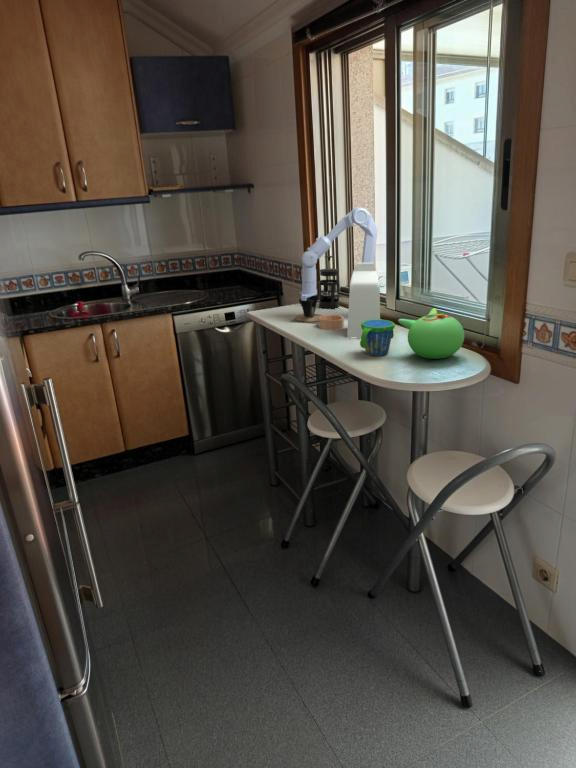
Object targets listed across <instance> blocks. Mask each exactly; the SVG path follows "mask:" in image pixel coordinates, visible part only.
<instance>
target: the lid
mask: <svg viewBox="0 0 576 768" xmlns="http://www.w3.org/2000/svg"><path fill="white" fill-rule="evenodd" d="M320 316H324V314H320V313H314V307H311V313H310V317H305V316H304V313H302V314H298V315H295V316H294V319H295V320H296V321H298V322H303V323H302V324H309V323H315V322H319V317H320Z"/></svg>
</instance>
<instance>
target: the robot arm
mask: <svg viewBox="0 0 576 768" xmlns="http://www.w3.org/2000/svg"><path fill="white" fill-rule="evenodd" d="M354 224H355V225H356V226H359V228H360V229H361V230H362V231H363V232H364V240H363V247H362V248H363V249H362V256H361V257H362V258H361V263H374V264H375V256H376V249H377V248H376V247H377V239H378V232H379V230H378V229H379V228H378V227H377V225H376V223H375V220H374V219H373V216H372V213H370V212H369V211H368V210H367V209H365V208H364V207H361V206H356V207H354V208H352V210H351V211H350V212H348V213H347V214H345V216H344V217H342V218H341V219H340V220H339V221H338V222H337V224H335V226H334V227H333V228H332V229H331V230H330V231H329V232H328V233H327V234H326V235H323V236H322V235H321V236H320V237H317V238H316V239H315V241H314V243H313V244H312V245H310V247H307V248H306V250H305V252H303V253H302V256H301V263H302V266H301V269H302V270H301V281H302V282H301V283H302V285H301V286H302V287H301V288H302V289H301V291H300V292H299V295H301V296H300V298H299V299H298V301H299V302H298V303H300V305H301V308H302V312H303V314H304V316H305V317H310V313H311V307H314V314H316V313H315V312H316V309H317V304H318V302H317V301H319V294H318V288H317V289H316V282H317V268H316V267H317V265H316V264H317V262H318V259H321V258H322V257H323V255H325V254H326V252H328V251H329V250H330V249H331V248H332V243H333V241H334V240H336V238H337V237H338V236H340V234H341V233H343V232H344V231H345V230H346V229H347V228H351V227H355V225H354Z"/></svg>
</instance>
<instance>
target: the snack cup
mask: <svg viewBox="0 0 576 768" xmlns="http://www.w3.org/2000/svg"><path fill="white" fill-rule="evenodd" d="M395 326H396V325H395V322H393V321H391V320H387V319H381V318H380V319H374V320H366V321H364V322H362V323H361V327H362V329H363V332H362V336H361V338H360V341H359V345H360V347H361V348H362V349H365V350H364V351H365V353H366V354H368V355H370V356H375V355H377V356H378V357H379V355H380V356H385V355H387V354H388V353H389V351H390V345H391V341H392V339H393V338H394V335H395V334H394V333H395V332H394V329H395ZM377 356H376V357H377Z"/></svg>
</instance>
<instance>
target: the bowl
mask: <svg viewBox="0 0 576 768" xmlns="http://www.w3.org/2000/svg"><path fill="white" fill-rule="evenodd" d="M344 327H345V317H344V316H343V315H338V314H325V315H324V314H323V316H320V317H319V324H318V328H319V329H321V330H327V331H328V330H329V331H333V330H334V331H335V330H336V331H337V330H340V329H343V328H344Z"/></svg>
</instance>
